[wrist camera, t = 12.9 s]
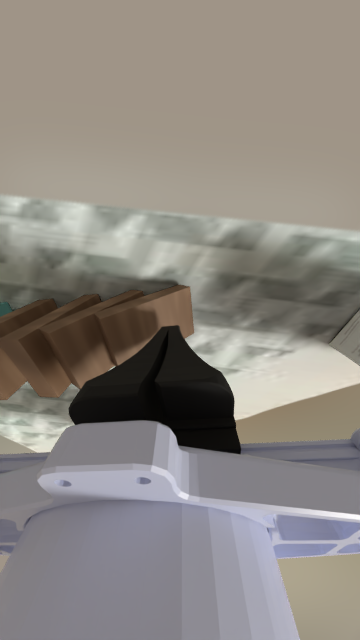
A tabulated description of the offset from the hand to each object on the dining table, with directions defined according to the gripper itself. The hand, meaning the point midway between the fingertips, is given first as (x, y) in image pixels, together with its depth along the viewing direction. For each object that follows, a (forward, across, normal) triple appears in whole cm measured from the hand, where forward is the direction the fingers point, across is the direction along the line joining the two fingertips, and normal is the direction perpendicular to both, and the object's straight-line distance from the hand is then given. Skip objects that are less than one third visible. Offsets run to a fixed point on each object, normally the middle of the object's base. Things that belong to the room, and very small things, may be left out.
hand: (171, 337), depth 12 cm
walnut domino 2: (+5, +3, 0) cm, 6 cm away
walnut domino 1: (+5, -1, 0) cm, 5 cm away
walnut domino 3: (+5, +8, 0) cm, 10 cm away
